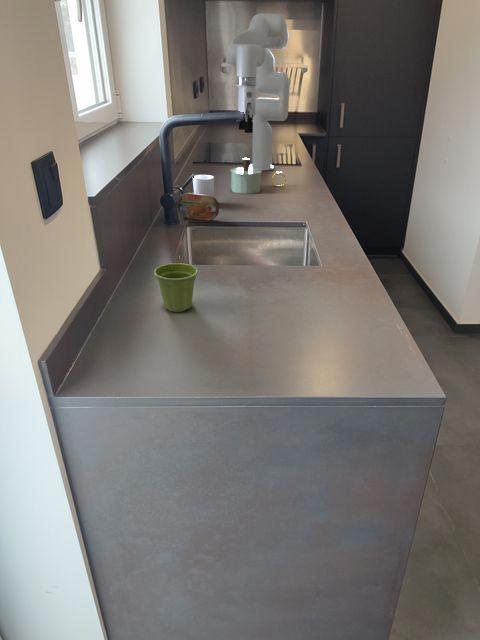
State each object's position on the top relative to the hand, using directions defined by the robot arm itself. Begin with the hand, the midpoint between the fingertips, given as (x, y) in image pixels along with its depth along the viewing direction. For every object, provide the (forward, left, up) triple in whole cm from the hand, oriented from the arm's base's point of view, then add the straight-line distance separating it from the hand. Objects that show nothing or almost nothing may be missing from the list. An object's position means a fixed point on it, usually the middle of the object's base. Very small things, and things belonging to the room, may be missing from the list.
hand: (245, 131), depth 197 cm
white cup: (+20, -21, -23) cm, 37 cm away
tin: (+38, -26, -23) cm, 52 cm away
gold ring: (-4, +16, -23) cm, 28 cm away
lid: (+1, 0, -15) cm, 15 cm away
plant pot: (+105, -42, -23) cm, 116 cm away
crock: (+1, 0, -23) cm, 23 cm away
